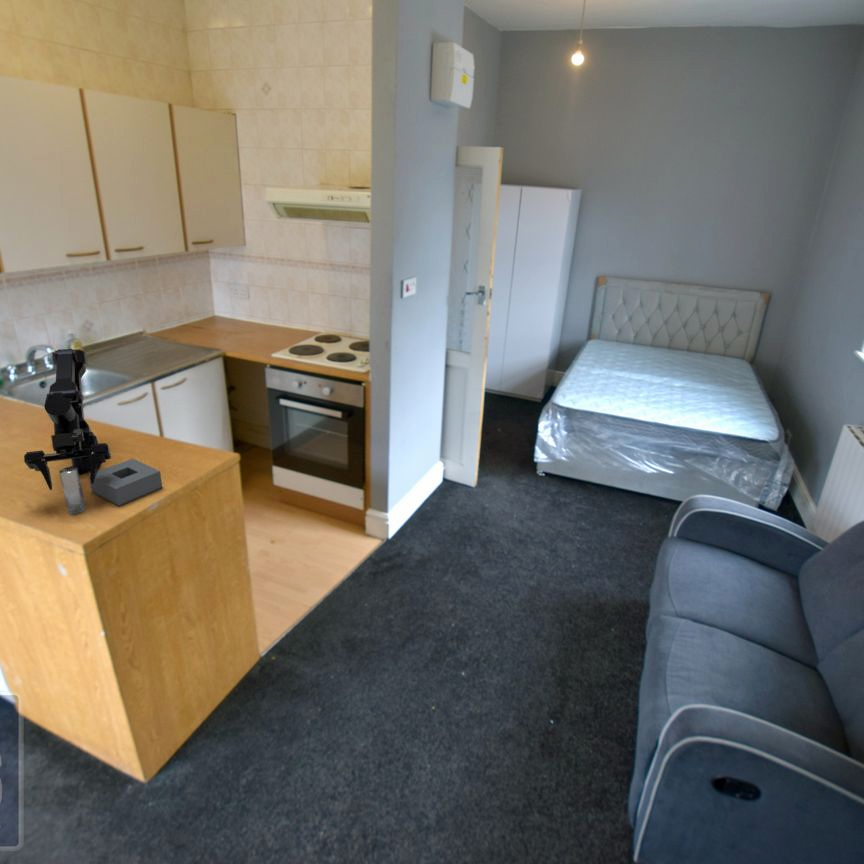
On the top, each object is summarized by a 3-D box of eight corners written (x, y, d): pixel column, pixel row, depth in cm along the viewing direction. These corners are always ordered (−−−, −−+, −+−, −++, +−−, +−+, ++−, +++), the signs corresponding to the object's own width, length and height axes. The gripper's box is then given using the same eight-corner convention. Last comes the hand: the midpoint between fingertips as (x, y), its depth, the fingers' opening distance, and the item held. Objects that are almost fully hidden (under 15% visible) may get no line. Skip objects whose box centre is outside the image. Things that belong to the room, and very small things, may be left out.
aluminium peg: (65, 511, 151) (56, 470, 146) (80, 505, 154) (72, 465, 150) (73, 516, 149) (64, 475, 145) (89, 509, 152) (80, 469, 148)
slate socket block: (91, 492, 161) (88, 474, 159) (135, 475, 171) (132, 458, 169) (119, 506, 155) (115, 488, 152) (162, 488, 165) (160, 471, 163)
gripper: (16, 423, 142) (20, 482, 138) (102, 414, 150) (108, 470, 145) (28, 440, 152) (31, 496, 147) (108, 431, 160) (114, 484, 155)
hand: (71, 486), depth 148 cm, fingers open, 9 cm apart
